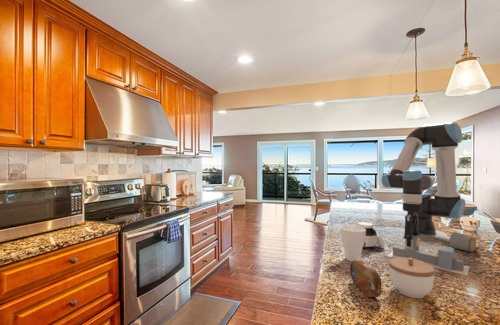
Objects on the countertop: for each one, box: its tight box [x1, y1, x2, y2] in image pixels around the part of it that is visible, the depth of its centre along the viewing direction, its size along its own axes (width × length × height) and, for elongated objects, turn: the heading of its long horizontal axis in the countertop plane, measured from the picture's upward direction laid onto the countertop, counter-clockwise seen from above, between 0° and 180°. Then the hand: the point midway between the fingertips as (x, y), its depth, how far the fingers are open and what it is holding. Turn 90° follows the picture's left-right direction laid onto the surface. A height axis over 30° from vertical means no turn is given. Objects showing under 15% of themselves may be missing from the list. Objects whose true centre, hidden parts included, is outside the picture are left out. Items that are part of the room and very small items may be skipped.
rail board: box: [386, 245, 471, 276], centre depth 104 cm, size 11×27×4 cm, turn 44°
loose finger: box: [404, 236, 421, 251], centre depth 115 cm, size 7×4×7 cm, turn 134°
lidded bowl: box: [388, 257, 436, 299], centre depth 80 cm, size 13×13×11 cm
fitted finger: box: [437, 245, 455, 272], centre depth 98 cm, size 7×4×7 cm, turn 134°
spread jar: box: [357, 221, 386, 250], centre depth 123 cm, size 12×11×12 cm
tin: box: [349, 260, 383, 298], centre depth 81 cm, size 15×3×8 cm, turn 5°
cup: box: [339, 225, 366, 262], centre depth 107 cm, size 10×10×14 cm
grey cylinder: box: [449, 231, 477, 253], centre depth 119 cm, size 11×8×8 cm
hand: (411, 251), depth 115 cm, fingers open, 8 cm apart
